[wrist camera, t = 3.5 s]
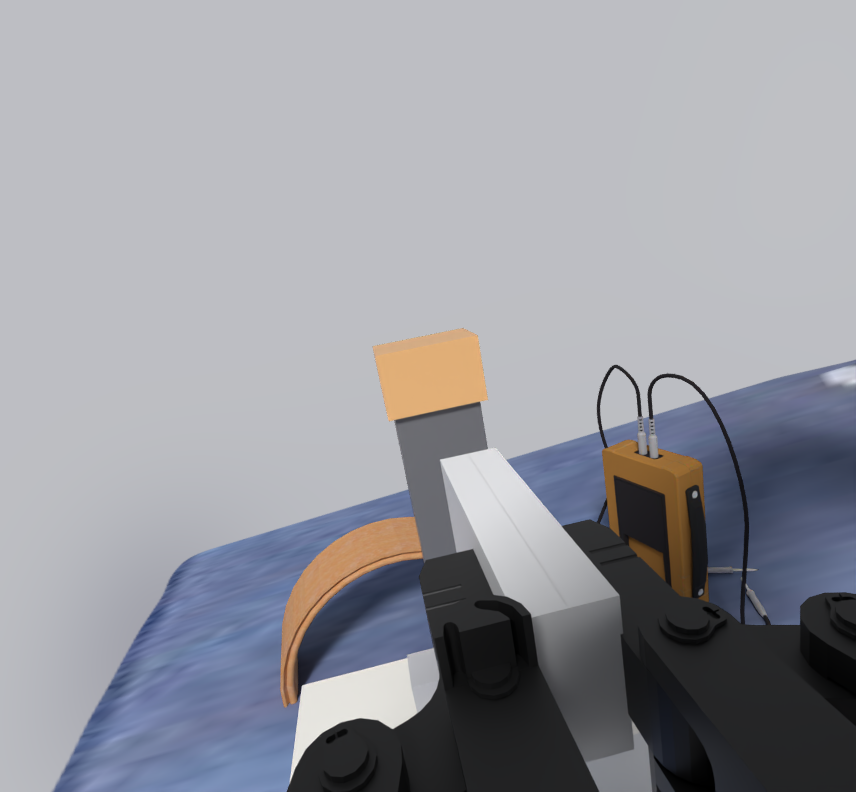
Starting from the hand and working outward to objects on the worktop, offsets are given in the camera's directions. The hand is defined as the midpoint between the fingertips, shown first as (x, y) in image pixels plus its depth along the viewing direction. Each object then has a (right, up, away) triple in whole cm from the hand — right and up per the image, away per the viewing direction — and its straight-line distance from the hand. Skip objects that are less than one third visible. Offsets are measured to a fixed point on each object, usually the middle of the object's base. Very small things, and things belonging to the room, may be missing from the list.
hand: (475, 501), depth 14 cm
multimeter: (+21, -13, +30) cm, 39 cm away
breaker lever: (+2, -14, +15) cm, 21 cm away
